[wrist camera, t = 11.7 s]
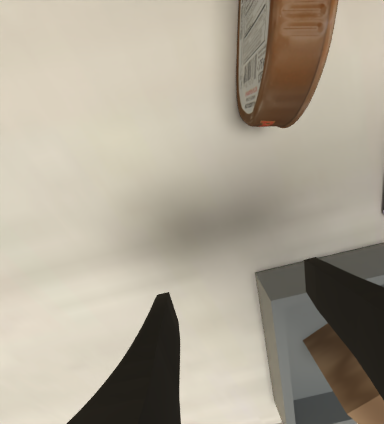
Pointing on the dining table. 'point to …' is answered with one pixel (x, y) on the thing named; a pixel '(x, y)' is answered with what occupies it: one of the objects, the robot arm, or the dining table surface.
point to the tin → (281, 57)
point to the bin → (305, 336)
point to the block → (346, 376)
